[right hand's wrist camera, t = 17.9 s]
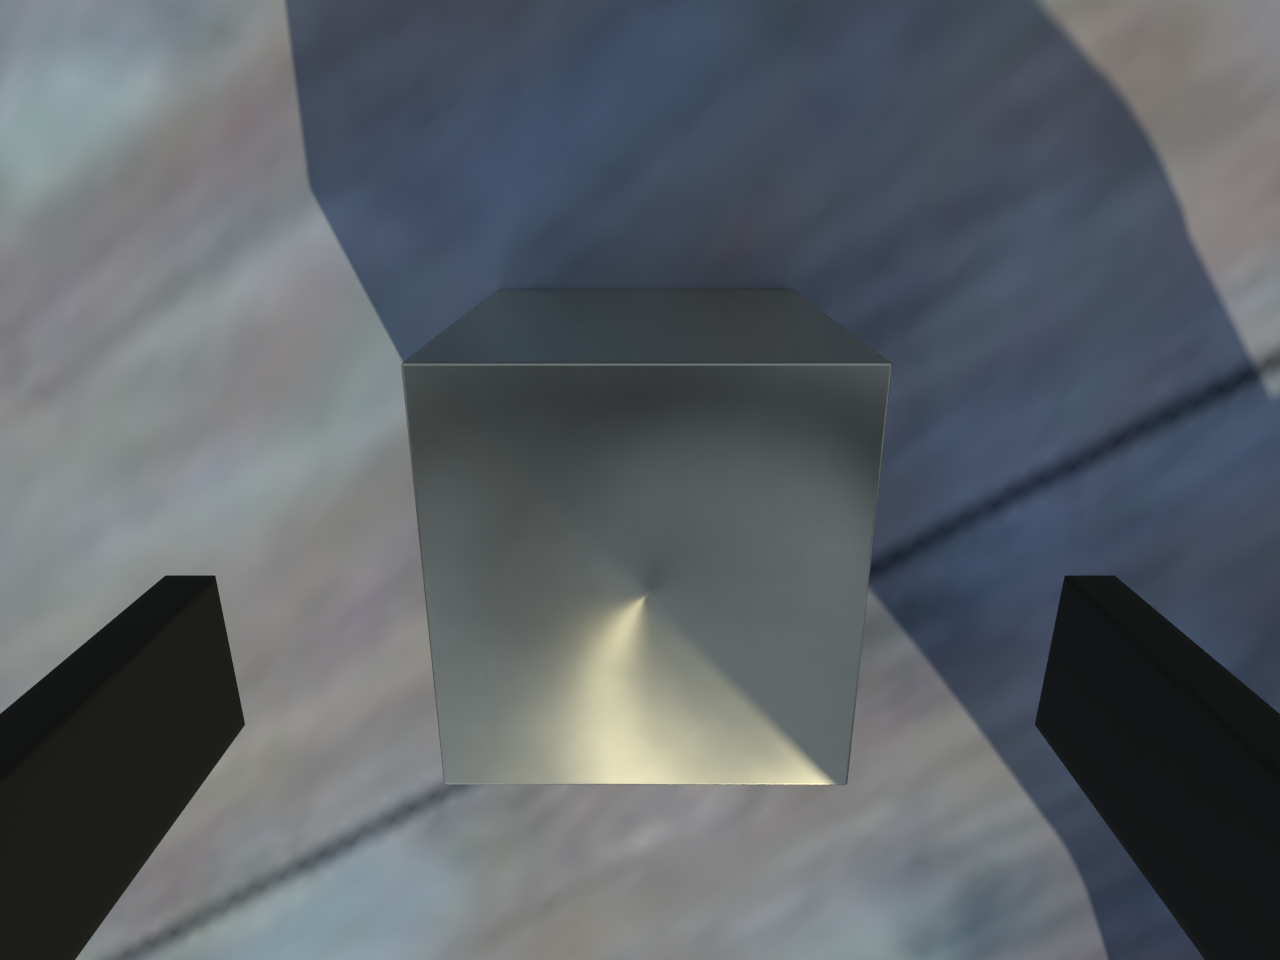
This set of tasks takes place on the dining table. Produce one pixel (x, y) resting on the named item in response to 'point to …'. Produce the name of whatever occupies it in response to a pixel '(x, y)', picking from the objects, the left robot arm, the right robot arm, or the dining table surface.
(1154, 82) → the dining table surface
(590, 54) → the dining table surface
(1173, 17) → the dining table surface
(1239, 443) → the dining table surface
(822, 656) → the block
